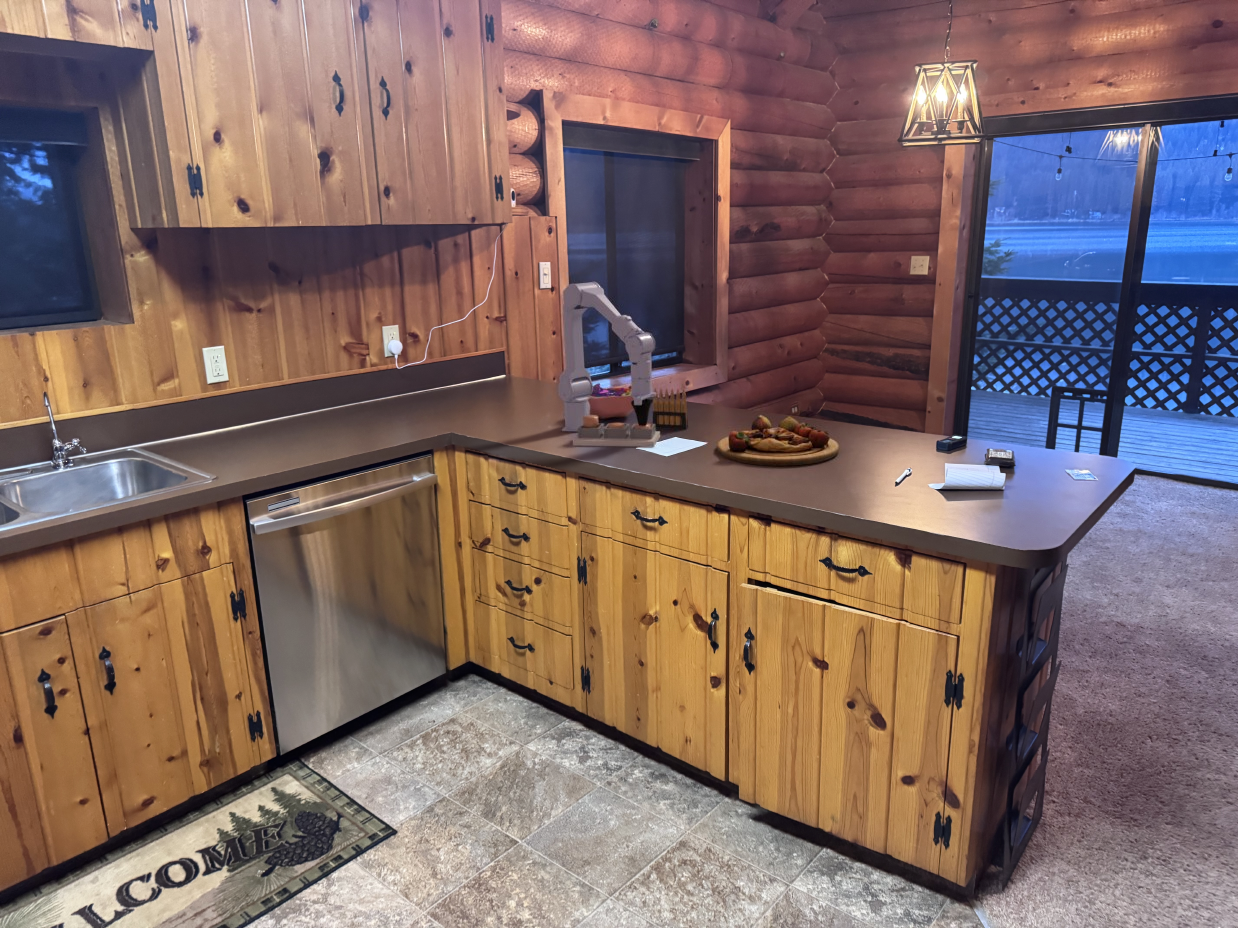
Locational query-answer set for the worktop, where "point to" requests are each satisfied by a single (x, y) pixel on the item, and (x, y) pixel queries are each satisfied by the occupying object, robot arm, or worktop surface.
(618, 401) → the cell model
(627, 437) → the plate
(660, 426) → the ammunition clip
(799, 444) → the wooden plate with food
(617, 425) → the centre knob
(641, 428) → the knob
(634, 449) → the worktop surface
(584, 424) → the end knob
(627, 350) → the robot arm
